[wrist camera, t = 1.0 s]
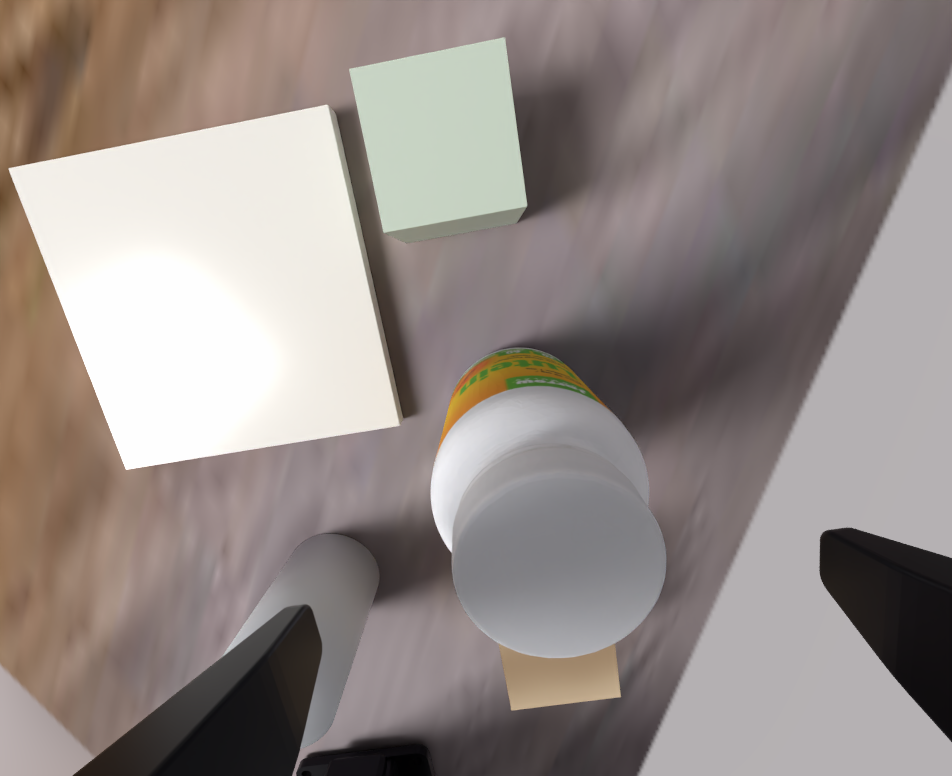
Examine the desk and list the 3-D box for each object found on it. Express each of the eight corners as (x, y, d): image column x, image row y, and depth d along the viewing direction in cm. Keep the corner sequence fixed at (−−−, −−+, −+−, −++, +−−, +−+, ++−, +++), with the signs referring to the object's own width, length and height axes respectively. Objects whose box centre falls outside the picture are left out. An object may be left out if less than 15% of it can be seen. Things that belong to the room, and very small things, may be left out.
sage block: (516, 223, 16) (527, 206, 12) (407, 243, 16) (383, 232, 12) (498, 99, 15) (504, 37, 11) (383, 122, 15) (349, 69, 11)
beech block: (593, 614, 20) (620, 697, 16) (505, 626, 20) (511, 710, 16) (583, 536, 19) (610, 604, 15) (491, 550, 19) (493, 619, 15)
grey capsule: (388, 606, 20) (349, 743, 14) (302, 618, 20) (228, 758, 14) (367, 527, 19) (317, 639, 13) (277, 540, 19) (187, 657, 13)
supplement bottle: (570, 329, 17) (686, 398, 7) (597, 458, 18) (726, 660, 8) (433, 364, 17) (373, 473, 8) (468, 488, 18) (456, 713, 9)
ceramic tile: (403, 419, 18) (399, 425, 17) (141, 461, 18) (126, 469, 17) (335, 113, 15) (327, 104, 14) (32, 173, 15) (8, 168, 15)
